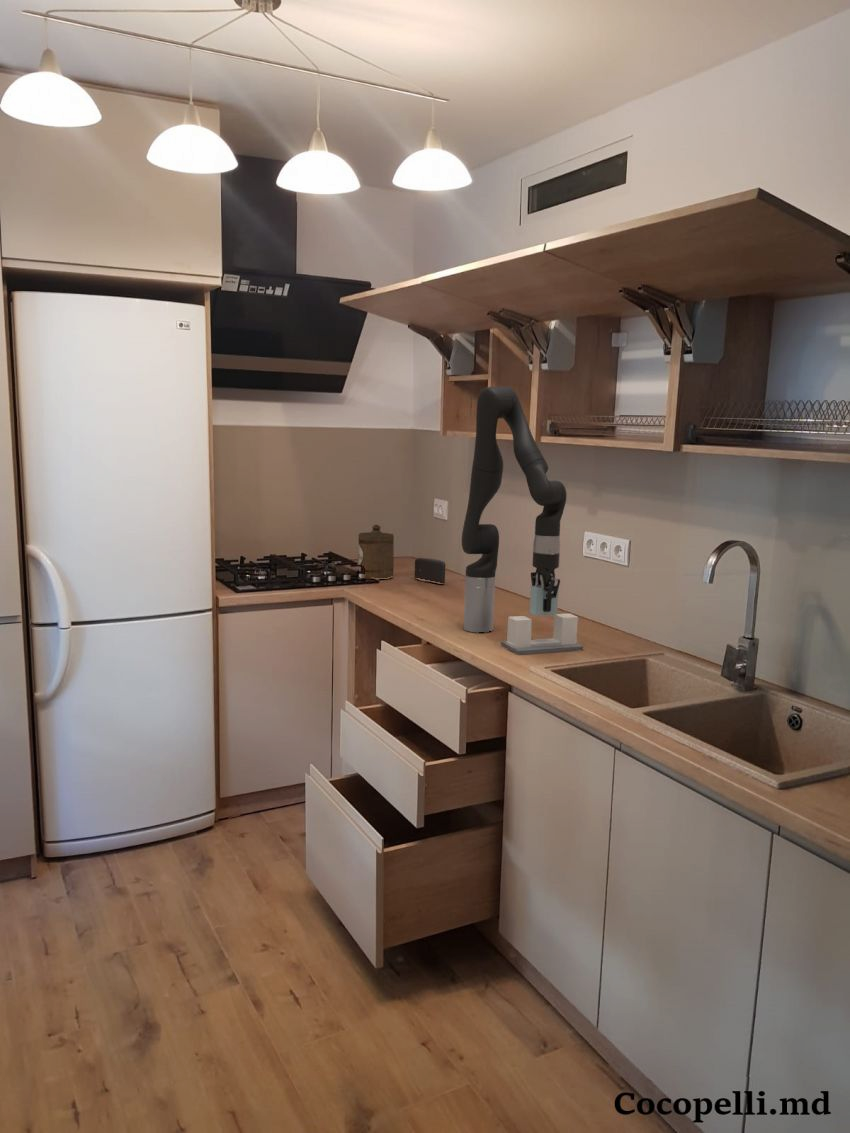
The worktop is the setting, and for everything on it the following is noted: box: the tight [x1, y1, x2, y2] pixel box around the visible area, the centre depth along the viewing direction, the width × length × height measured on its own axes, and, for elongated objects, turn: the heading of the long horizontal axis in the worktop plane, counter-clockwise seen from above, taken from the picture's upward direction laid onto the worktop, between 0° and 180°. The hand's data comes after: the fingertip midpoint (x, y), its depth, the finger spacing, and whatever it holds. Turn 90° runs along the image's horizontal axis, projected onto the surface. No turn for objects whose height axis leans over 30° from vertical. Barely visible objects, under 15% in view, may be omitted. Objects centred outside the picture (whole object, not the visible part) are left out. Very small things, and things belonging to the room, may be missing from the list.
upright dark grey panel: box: [414, 557, 446, 583], centre depth 344 cm, size 16×5×9 cm, turn 47°
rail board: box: [500, 612, 584, 656], centre depth 245 cm, size 11×21×9 cm, turn 111°
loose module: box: [529, 585, 559, 617], centre depth 243 cm, size 4×7×8 cm, turn 110°
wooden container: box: [357, 524, 395, 578], centre depth 351 cm, size 15×15×22 cm
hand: (543, 609), depth 243 cm, fingers closed on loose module, 3 cm apart
